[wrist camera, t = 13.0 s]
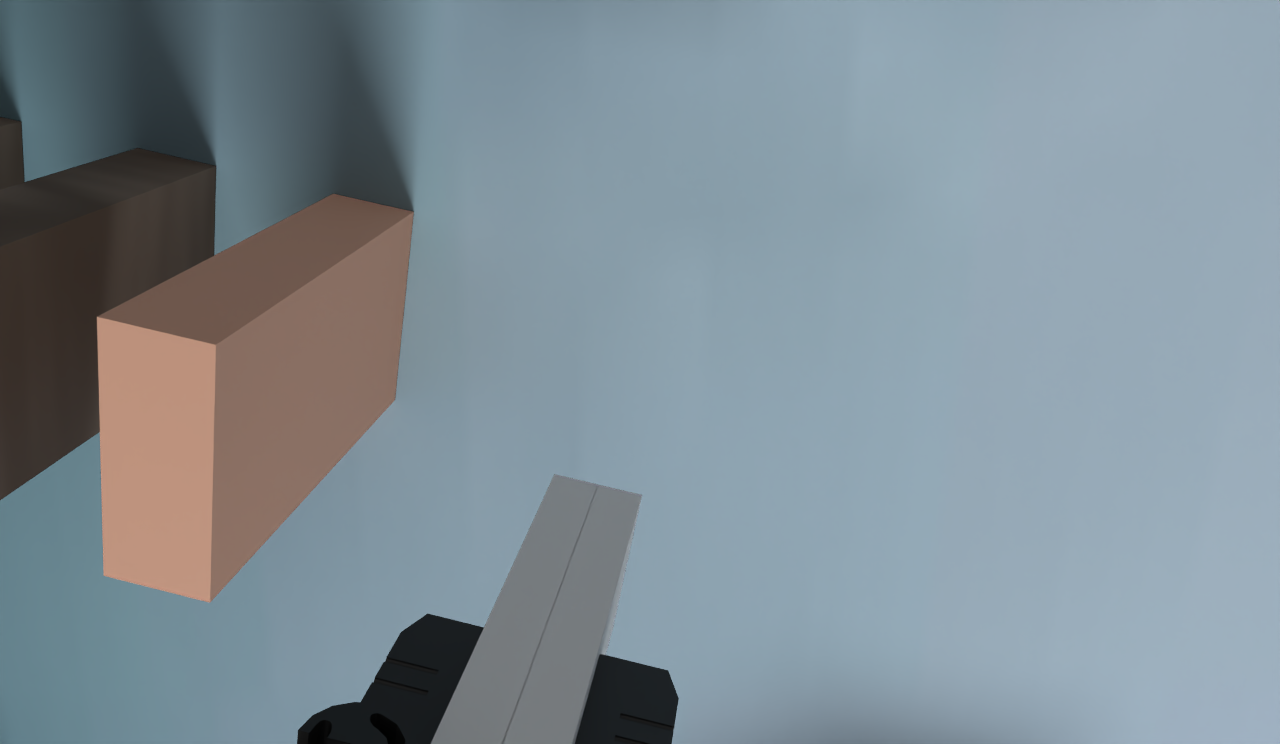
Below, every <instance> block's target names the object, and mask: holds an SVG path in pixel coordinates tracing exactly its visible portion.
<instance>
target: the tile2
mask: <svg viewBox="0 0 1280 744" xmlns="http://www.w3.org/2000/svg"><path fill="white" fill-rule="evenodd" d="M215 189H216V166H214V165H210V164H205V163H201V162H197V161H192V160H188V159H183V158H179V157H175V156H170V155H166V154H161V153H157V152H153V151H148V150H144V149H140V148H136V149H133V150H129V151H126V152H123V153H119V154H116V155H113V156H110V157H106V158H103V159H100V160H96V161H93V162H90V163H87V164H83V165H80V166H77V167H73V168H70V169H67V170H63V171H60V172H57V173H54V174H50V175H47V176H44V177H40V178H37V179H34V180H31V181H27V182H24V183H21V184H17V185H14V186H11V187H7V188H4V189H1V190H0V500H1V499H3V498H4V497H6V496H7V495H8V494H10V493H11V492H13V491H14V490H16V489H17V488H19V487H20V486H22V485H23V484H24V483H26V482H27V481H29V480H30V479H32V478H33V477H35V476H36V475H38V474H39V473H40V472H42V471H43V470H45V469H46V468H48V467H49V466H51V465H52V464H54V463H55V462H56V461H58V460H59V459H61V458H62V457H64V456H65V455H67V454H68V453H70V452H71V451H72V450H74V449H75V448H77V447H78V446H80V445H81V444H83V443H84V442H86V441H87V440H88V439H90V438H91V437H93V436H94V435H96V434H97V433H99V432H100V415H99V377H98V340H97V316H99V315H101V314H103V313H105V312H107V311H109V310H111V309H113V308H115V307H117V306H119V305H121V304H122V303H124V302H126V301H128V300H130V299H132V298H134V297H136V296H138V295H140V294H142V293H144V292H145V291H147V290H149V289H151V288H153V287H155V286H157V285H159V284H161V283H163V282H165V281H167V280H168V279H170V278H172V277H174V276H176V275H178V274H180V273H182V272H184V271H186V270H188V269H190V268H192V267H193V266H195V265H197V264H199V263H201V262H203V261H205V260H207V259H209V258H211V257H213V256H214V230H215Z"/></svg>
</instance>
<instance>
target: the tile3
mask: <svg viewBox="0 0 1280 744" xmlns="http://www.w3.org/2000/svg"><path fill="white" fill-rule="evenodd" d="M21 183H24V166H23V147H22V128H21V122H20V121H16V120H12V119H7V118H3V117H0V190H1V189H4V188H7V187H11V186H14V185H17V184H21Z"/></svg>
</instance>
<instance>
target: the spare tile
mask: <svg viewBox="0 0 1280 744" xmlns="http://www.w3.org/2000/svg"><path fill="white" fill-rule="evenodd" d="M413 214H414V212H412V211H408V210H403V209H399V208H395V207H390V206H386V205H381V204H377V203H372V202H368V201H363V200H359V199H354V198H350V197H346V196H341V195H337V194H332V195H330V196H328V197H326V198H324V199H322V200H320V201H318V202H316V203H314V204H312V205H311V206H309V207H307V208H305V209H303V210H301V211H299V212H297V213H295V214H293V215H291V216H289V217H287V218H286V219H284V220H282V221H280V222H278V223H276V224H274V225H272V226H270V227H268V228H266V229H264V230H263V231H261V232H259V233H257V234H255V235H253V236H251V237H249V238H247V239H245V240H243V241H241V242H240V243H238V244H236V245H234V246H232V247H230V248H228V249H226V250H224V251H222V252H220V253H218V254H216V255H215V256H213V257H211V258H209V259H207V260H205V261H203V262H201V263H199V264H197V265H195V266H193V267H192V268H190V269H188V270H186V271H184V272H182V273H180V274H178V275H176V276H174V277H172V278H170V279H168V280H167V281H165V282H163V283H161V284H159V285H157V286H155V287H153V288H151V289H149V290H147V291H145V292H144V293H142V294H140V295H138V296H136V297H134V298H132V299H130V300H128V301H126V302H124V303H122V304H121V305H119V306H117V307H115V308H113V309H111V310H109V311H107V312H105V313H103V314H101V315H99V316H97V340H98V377H99V415H100V453H101V490H102V528H103V565H104V576H107V577H111V578H115V579H119V580H123V581H127V582H131V583H135V584H139V585H143V586H147V587H151V588H154V589H158V590H162V591H166V592H170V593H174V594H178V595H182V596H186V597H190V598H194V599H198V600H202V601H206V602H211V601H212V600H213V599H214V598H215V597H216V596H217V594H218V593H219V592H220V591H221V590H222V589H223V588H224V587H225V586H226V585H227V583H228V582H229V581H230V580H231V579H232V578H233V577H234V576H235V575H236V574H237V573H238V571H239V570H240V569H241V568H242V567H243V566H244V565H245V564H246V563H247V562H248V560H249V559H250V558H251V557H252V556H253V555H254V554H255V553H256V552H257V551H258V549H259V548H260V547H261V546H262V545H263V544H264V543H265V542H266V541H267V540H268V539H269V537H270V536H271V535H272V534H273V533H274V532H275V531H276V530H277V529H278V528H279V526H280V525H281V524H282V523H283V522H284V521H285V520H286V519H287V518H288V517H289V515H290V514H291V513H292V512H293V511H294V510H295V509H296V508H297V507H298V506H299V505H300V503H301V502H302V501H303V500H304V499H305V498H306V497H307V496H308V495H309V494H310V492H311V491H312V490H313V489H314V488H315V487H316V486H317V485H318V484H319V483H320V481H321V480H322V479H323V478H324V477H325V476H326V475H327V474H328V473H329V472H330V471H331V469H332V468H333V467H334V466H335V465H336V464H337V463H338V462H339V461H340V460H341V458H342V457H343V456H344V455H345V454H346V453H347V452H348V451H349V450H350V449H351V447H352V446H353V445H354V444H355V443H356V442H357V441H358V440H359V439H360V438H361V437H362V435H363V434H364V433H365V432H366V431H367V430H368V429H369V428H370V427H371V426H372V424H373V423H374V422H375V421H376V420H377V419H378V418H379V417H380V416H381V415H382V413H383V412H384V411H385V410H386V409H387V408H388V407H389V406H390V405H391V404H392V403H393V401H394V400H395V395H396V385H397V375H398V365H399V354H400V344H401V334H402V324H403V314H404V304H405V294H406V284H407V274H408V264H409V254H410V244H411V234H412V224H413Z"/></svg>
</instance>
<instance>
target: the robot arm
mask: <svg viewBox="0 0 1280 744" xmlns="http://www.w3.org/2000/svg"><path fill="white" fill-rule="evenodd" d="M641 498H642V495H640V494H636V493H631V492H627V491H623V490H619V489H615V488H610V487H606V486H602V485H598V484H594V483H589V482H585V481H581V480H577V479H573V478H568V477H564V476H560V475H556V474H554V476H553V478H552V481H551V483H550V485H549V487H548V489H547V491H546V494H545V496H544V498H543V500H542V502H541V505H540V507H539V509H538V511H537V513H536V515H535V518H534V520H533V522H532V524H531V526H530V528H529V531H528V533H527V535H526V537H525V539H524V542H523V544H522V546H521V548H520V550H519V552H518V555H517V557H516V559H515V561H514V563H513V566H512V568H511V570H510V572H509V574H508V576H507V579H506V581H505V583H504V585H503V587H502V589H501V592H500V594H499V596H498V598H497V600H496V603H495V605H494V607H493V609H492V611H491V613H490V616H489V618H488V620H487V622H486V624H485V627H480V626H475V625H471V624H467V623H463V622H459V621H455V620H451V619H447V618H443V617H439V616H435V615H431V614H426V615H425V616H424V617H422V618H421V619H419V620H418V621H416V622H415V623H414V624H412V625H411V626H409V627H408V628H406V629H405V630H403V631H402V632H401V633H400V635H399V637H398V638H397V640H396V642H395V644H394V645H393V647H392V649H391V651H390V652H389V654H388V656H387V658H386V661H385V662H384V663H383V664H382V666H381V668H380V670H379V671H378V673H377V675H376V677H375V680H374V682H373V683H371V685H370V687H369V689H368V690H367V692H366V694H365V696H364V697H363V699H362V701H361V703H359V702H353V703H347V704H341V705H335V706H331V707H329V708H327V709H325V710H323V711H321V712H319V713H317V714H315V715H313V716H312V717H311V718H310V719H309V720H308V721H307V722H306V723H305V724H304V725H303V726H302V727H301V728H300V729H299V730H298V740H297V744H671V743H672V737H673V729H674V724H675V718H676V711H677V705H678V699H679V698H678V696H677V693H676V690H675V688H674V685H673V682H672V680H671V677H670V674H669V672H668V670H664V669H660V668H655V667H651V666H647V665H643V664H639V663H635V662H631V661H627V660H623V659H619V658H615V657H611V656H607V655H606V652H607V648H608V645H609V641H610V637H611V633H612V630H613V626H614V621H615V617H616V612H617V607H618V603H619V598H620V594H621V589H622V585H623V580H624V575H625V571H626V566H627V562H628V557H629V552H630V548H631V543H632V539H633V534H634V530H635V525H636V520H637V516H638V511H639V507H640V502H641Z"/></svg>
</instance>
